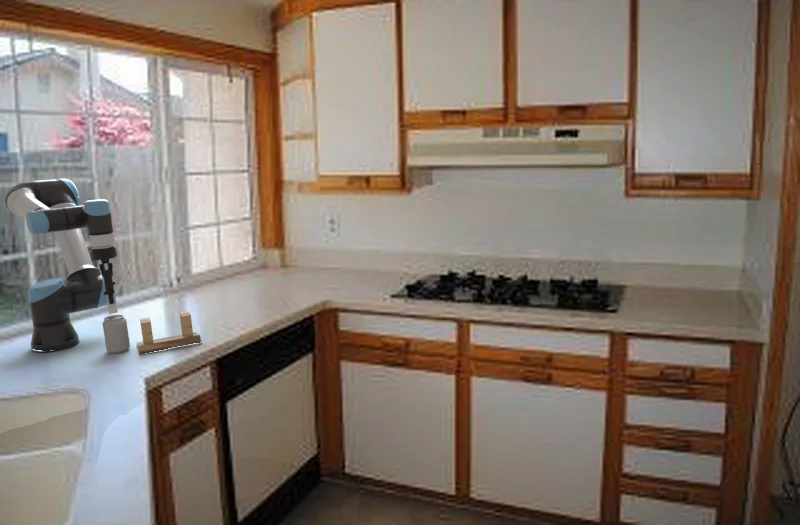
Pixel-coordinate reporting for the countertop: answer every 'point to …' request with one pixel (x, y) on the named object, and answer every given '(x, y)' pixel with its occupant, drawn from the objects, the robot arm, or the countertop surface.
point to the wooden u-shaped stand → (167, 342)
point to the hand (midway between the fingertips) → (112, 308)
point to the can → (116, 334)
